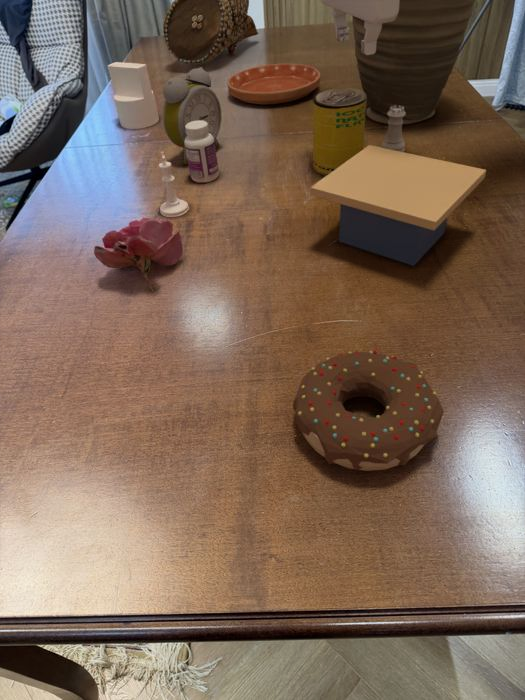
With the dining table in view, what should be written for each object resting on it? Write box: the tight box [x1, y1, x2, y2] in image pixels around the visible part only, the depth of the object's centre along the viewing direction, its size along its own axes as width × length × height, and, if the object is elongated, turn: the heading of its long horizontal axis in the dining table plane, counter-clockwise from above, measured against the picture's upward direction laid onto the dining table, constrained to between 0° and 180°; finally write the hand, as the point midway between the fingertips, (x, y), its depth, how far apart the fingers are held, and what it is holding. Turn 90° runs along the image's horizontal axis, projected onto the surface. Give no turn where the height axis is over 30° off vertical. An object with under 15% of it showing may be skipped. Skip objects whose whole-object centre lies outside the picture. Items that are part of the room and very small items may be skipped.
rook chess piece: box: [381, 106, 406, 152], centre depth 93 cm, size 4×4×8 cm
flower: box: [93, 217, 184, 292], centre depth 71 cm, size 11×10×10 cm
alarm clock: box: [162, 66, 222, 165], centre depth 97 cm, size 12×7×15 cm, turn 143°
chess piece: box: [158, 150, 190, 218], centre depth 83 cm, size 5×5×10 cm
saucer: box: [226, 63, 321, 105], centre depth 125 cm, size 23×23×4 cm
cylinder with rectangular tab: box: [107, 61, 160, 130], centre depth 114 cm, size 9×9×12 cm
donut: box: [292, 350, 444, 472], centre depth 49 cm, size 14×14×5 cm
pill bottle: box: [184, 120, 220, 184], centre depth 91 cm, size 5×5×10 cm
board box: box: [310, 144, 487, 267], centre depth 72 cm, size 18×16×9 cm
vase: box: [351, 0, 476, 125], centre depth 101 cm, size 25×24×30 cm
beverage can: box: [312, 87, 367, 176], centre depth 89 cm, size 9×9×12 cm
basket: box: [162, 0, 260, 66], centre depth 149 cm, size 24×22×35 cm
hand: (354, 46), depth 79 cm, fingers open, 8 cm apart
